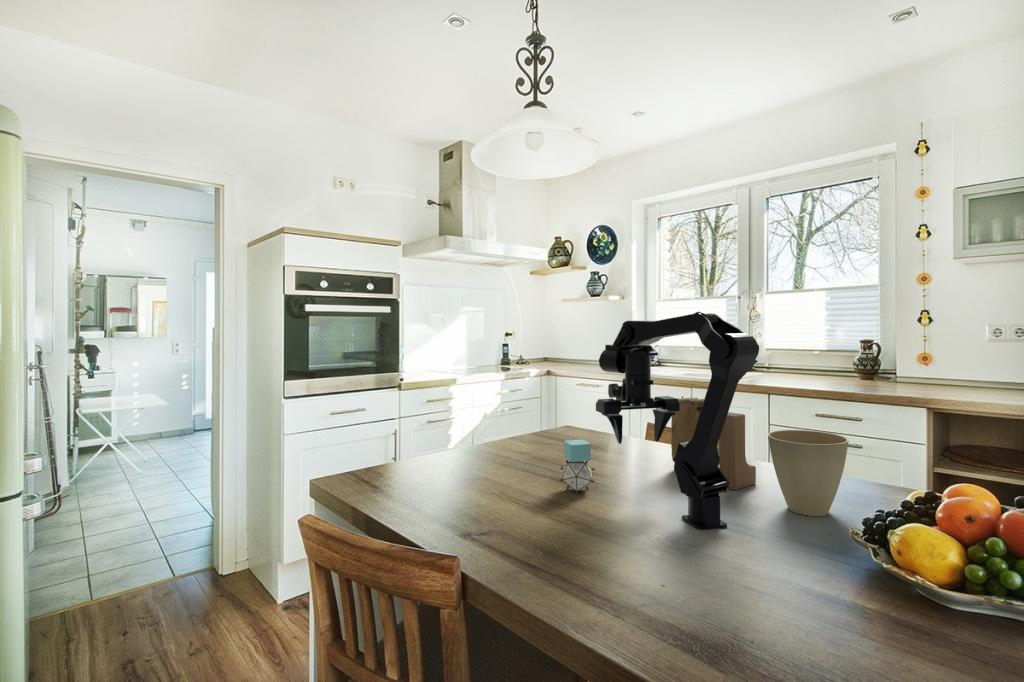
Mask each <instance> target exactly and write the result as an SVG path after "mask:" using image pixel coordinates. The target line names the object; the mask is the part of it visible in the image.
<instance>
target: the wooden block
mask: <svg viewBox="0 0 1024 682" xmlns="http://www.w3.org/2000/svg"><path fill="white" fill-rule="evenodd" d="M718 453H719V457H720V461H719V469H720V470H721V471H722V473H723V474H724V475H725V477H726V478H727V480H728V481H729V483H730V484H729V487H728V490H729V489H730V490H733V491H736V490H739V489H742V488H746V487H749V486H752V485H755V484H756V483H757V476H756V475H757V473H756V472H757V471H756V470H757V467H756V466H755V465H754V464H753V465H752V464H748V461H747V458H746V457H747V456H746V415H745V414H744V413H739V412H738V413H736V412H732V411H731V412H729V411H728V414H727V417H726V420H725V423H724V426H723V429H722V432H721V435H720V438H719V441H718Z"/></svg>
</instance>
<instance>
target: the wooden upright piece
mask: <svg viewBox="0 0 1024 682" xmlns="http://www.w3.org/2000/svg"><path fill="white" fill-rule="evenodd" d="M677 399H678V400H679V401H680V403H681V411H672V412H675V415H672V416H671V421H670V422H671V425H670V426H671V427H670V428H671V429H670V431H671V436H670V437H671V438H670V439H671V440H670V441H671V442H670V443H671V445H670V447H671V458H672V460H673V459H674V458H675V456H676V452H677V447H678V445H679V444H680V443H685V442H690V440H691V439H692V437H693V433H694V430H695V427H696V424H697V421H698V418H699V414H700V411H701V408H702V405H703V402H704V399H705V398H697V397H695V398H694V397H692V398H691V397H684V398H677ZM673 463H675V461H673Z"/></svg>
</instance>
